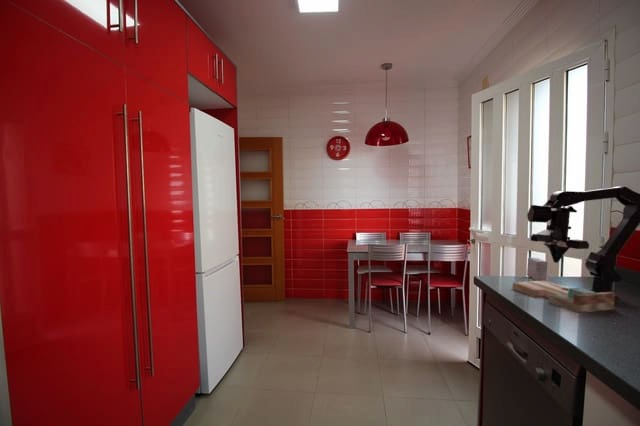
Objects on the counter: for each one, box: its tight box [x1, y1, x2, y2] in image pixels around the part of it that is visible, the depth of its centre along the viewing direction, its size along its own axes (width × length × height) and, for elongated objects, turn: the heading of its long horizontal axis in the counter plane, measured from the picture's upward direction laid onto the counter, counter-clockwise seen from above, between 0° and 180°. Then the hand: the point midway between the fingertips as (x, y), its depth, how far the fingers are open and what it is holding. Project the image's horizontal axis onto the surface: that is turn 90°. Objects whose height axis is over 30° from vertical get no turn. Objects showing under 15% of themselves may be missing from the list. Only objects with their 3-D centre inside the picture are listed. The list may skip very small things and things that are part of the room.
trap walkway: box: [511, 280, 616, 314], centre depth 109 cm, size 16×24×6 cm, turn 14°
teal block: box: [568, 287, 596, 299], centre depth 102 cm, size 5×5×3 cm
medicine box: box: [526, 257, 548, 281], centre depth 134 cm, size 8×4×9 cm, turn 168°
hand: (555, 262), depth 118 cm, fingers closed
